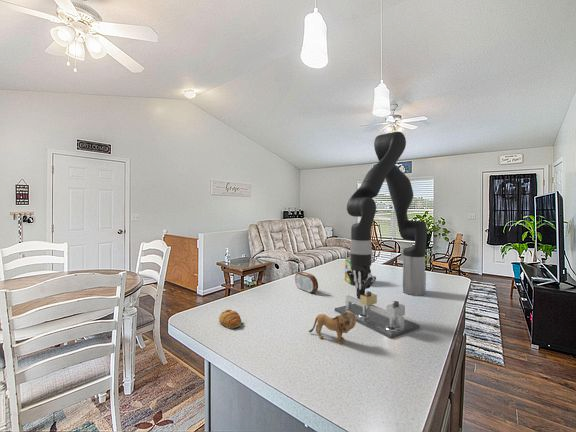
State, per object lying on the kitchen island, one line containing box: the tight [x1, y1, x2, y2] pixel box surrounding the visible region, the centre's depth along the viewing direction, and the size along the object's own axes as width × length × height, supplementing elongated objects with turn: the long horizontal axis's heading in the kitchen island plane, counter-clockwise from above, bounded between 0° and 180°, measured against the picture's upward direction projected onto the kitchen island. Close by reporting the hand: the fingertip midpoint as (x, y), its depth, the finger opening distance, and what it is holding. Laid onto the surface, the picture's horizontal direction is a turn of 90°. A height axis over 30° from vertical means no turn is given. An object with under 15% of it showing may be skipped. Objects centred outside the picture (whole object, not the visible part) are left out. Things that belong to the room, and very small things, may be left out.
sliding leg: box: [360, 290, 378, 315], centre depth 99 cm, size 5×3×8 cm, turn 120°
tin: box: [294, 270, 319, 294], centre depth 132 cm, size 15×3×8 cm, turn 34°
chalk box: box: [344, 258, 352, 285], centre depth 147 cm, size 9×9×15 cm
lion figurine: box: [308, 311, 357, 345], centre depth 84 cm, size 15×5×9 cm, turn 65°
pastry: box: [218, 309, 242, 329], centre depth 95 cm, size 9×7×4 cm
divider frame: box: [345, 294, 406, 331], centre depth 98 cm, size 5×25×8 cm, turn 30°
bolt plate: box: [334, 303, 421, 339], centre depth 99 cm, size 14×26×1 cm, turn 30°
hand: (360, 298), depth 103 cm, fingers closed
